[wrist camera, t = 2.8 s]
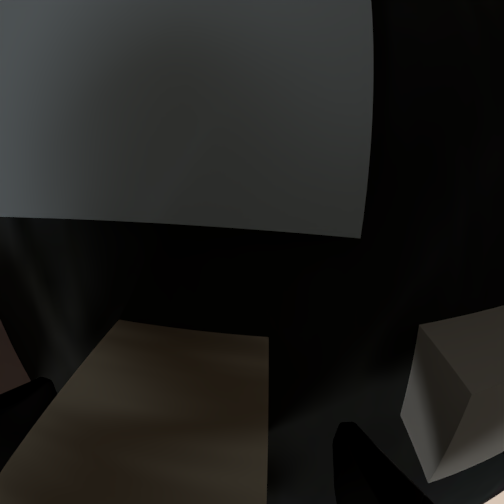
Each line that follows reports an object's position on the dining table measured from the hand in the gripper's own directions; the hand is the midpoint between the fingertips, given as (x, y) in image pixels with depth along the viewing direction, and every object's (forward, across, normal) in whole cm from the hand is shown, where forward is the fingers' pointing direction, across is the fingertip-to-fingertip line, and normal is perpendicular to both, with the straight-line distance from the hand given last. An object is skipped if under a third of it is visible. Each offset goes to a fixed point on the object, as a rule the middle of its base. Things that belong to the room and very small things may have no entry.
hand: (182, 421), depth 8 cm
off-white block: (+2, -9, -1) cm, 9 cm away
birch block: (+2, 0, 0) cm, 2 cm away
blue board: (+2, +3, -11) cm, 12 cm away
